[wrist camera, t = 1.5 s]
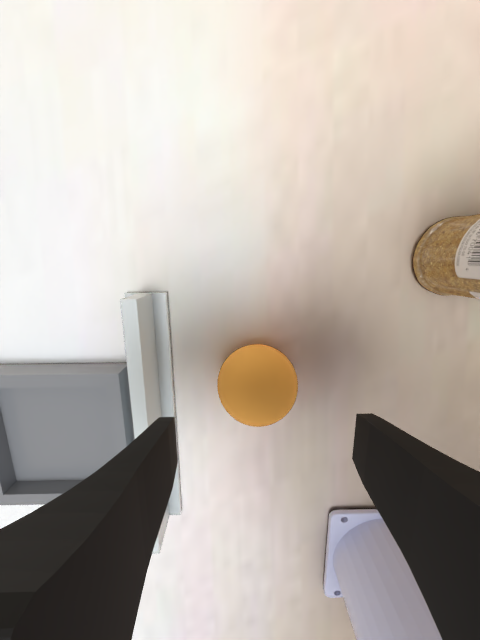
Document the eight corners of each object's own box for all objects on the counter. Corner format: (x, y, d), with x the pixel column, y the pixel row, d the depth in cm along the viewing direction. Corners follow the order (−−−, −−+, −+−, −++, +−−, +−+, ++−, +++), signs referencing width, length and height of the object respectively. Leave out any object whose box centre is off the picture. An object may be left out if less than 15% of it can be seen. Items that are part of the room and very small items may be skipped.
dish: (129, 362, 17) (118, 373, 16) (141, 481, 19) (132, 502, 18) (-13, 364, 17) (-40, 375, 16) (14, 483, 19) (-8, 505, 18)
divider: (167, 292, 16) (152, 299, 13) (181, 509, 20) (172, 553, 17) (127, 292, 16) (103, 299, 13) (148, 510, 20) (133, 553, 17)
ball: (290, 334, 17) (309, 360, 13) (288, 399, 18) (304, 444, 14) (218, 335, 17) (213, 361, 13) (220, 400, 18) (215, 446, 14)
